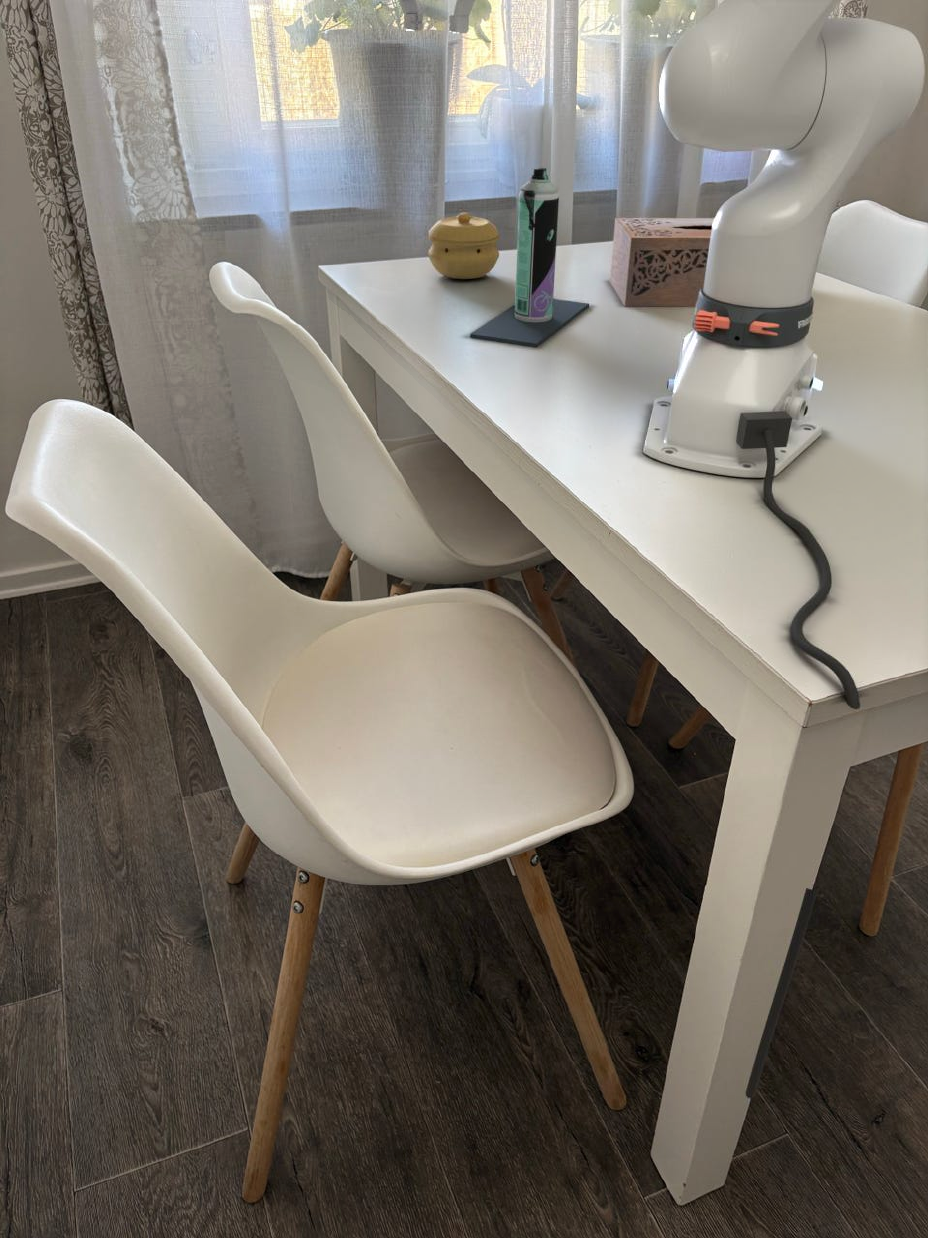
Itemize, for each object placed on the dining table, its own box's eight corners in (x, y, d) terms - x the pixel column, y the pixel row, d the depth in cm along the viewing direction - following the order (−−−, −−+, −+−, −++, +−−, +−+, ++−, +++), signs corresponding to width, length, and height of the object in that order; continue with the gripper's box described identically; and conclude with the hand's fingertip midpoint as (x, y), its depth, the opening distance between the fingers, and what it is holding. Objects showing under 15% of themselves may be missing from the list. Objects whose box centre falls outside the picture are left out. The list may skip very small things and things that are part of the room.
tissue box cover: (763, 281, 162) (774, 217, 157) (790, 305, 150) (803, 237, 145) (609, 281, 161) (615, 217, 156) (624, 306, 149) (631, 237, 144)
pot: (431, 266, 169) (430, 205, 163) (498, 268, 168) (500, 206, 163) (426, 284, 159) (425, 219, 153) (498, 285, 159) (499, 220, 153)
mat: (536, 347, 132) (536, 343, 132) (469, 337, 136) (469, 333, 135) (589, 306, 149) (589, 303, 149) (528, 298, 152) (528, 295, 152)
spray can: (549, 323, 140) (558, 172, 129) (511, 320, 141) (517, 170, 130) (554, 312, 144) (563, 165, 133) (517, 310, 145) (523, 164, 134)
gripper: (514, -116, 105) (510, 34, 112) (407, -105, 118) (410, 28, 126) (467, -120, 102) (466, 35, 109) (363, -108, 115) (369, 29, 123)
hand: (435, 31), depth 118 cm, fingers open, 8 cm apart
